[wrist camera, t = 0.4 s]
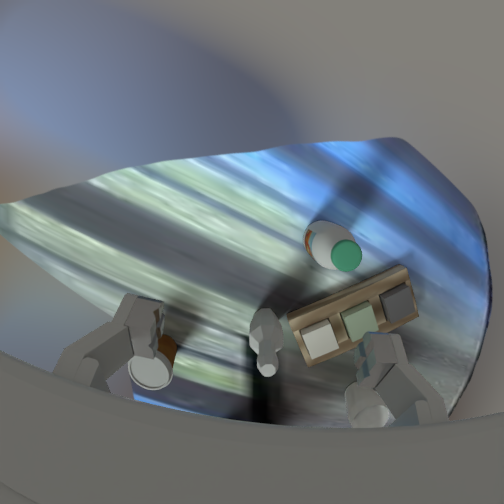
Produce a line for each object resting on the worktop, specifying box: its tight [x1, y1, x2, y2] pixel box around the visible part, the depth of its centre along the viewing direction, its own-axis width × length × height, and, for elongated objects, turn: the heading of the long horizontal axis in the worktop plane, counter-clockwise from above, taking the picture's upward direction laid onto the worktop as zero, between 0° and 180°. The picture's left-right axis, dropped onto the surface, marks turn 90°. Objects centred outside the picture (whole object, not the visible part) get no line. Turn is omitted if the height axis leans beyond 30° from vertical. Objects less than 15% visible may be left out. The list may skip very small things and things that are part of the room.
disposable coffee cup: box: [128, 334, 177, 390], centre depth 62 cm, size 10×10×12 cm
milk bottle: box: [303, 221, 362, 272], centre depth 54 cm, size 8×8×20 cm
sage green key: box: [340, 301, 379, 342], centre depth 62 cm, size 6×6×4 cm
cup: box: [344, 382, 389, 428], centre depth 64 cm, size 9×9×12 cm
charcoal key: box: [379, 283, 416, 324], centre depth 61 cm, size 6×6×4 cm
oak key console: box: [287, 264, 419, 367], centre depth 64 cm, size 12×27×4 cm, turn 113°
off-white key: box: [300, 318, 339, 359], centre depth 63 cm, size 6×6×4 cm
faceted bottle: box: [249, 308, 283, 377], centre depth 56 cm, size 6×6×22 cm
